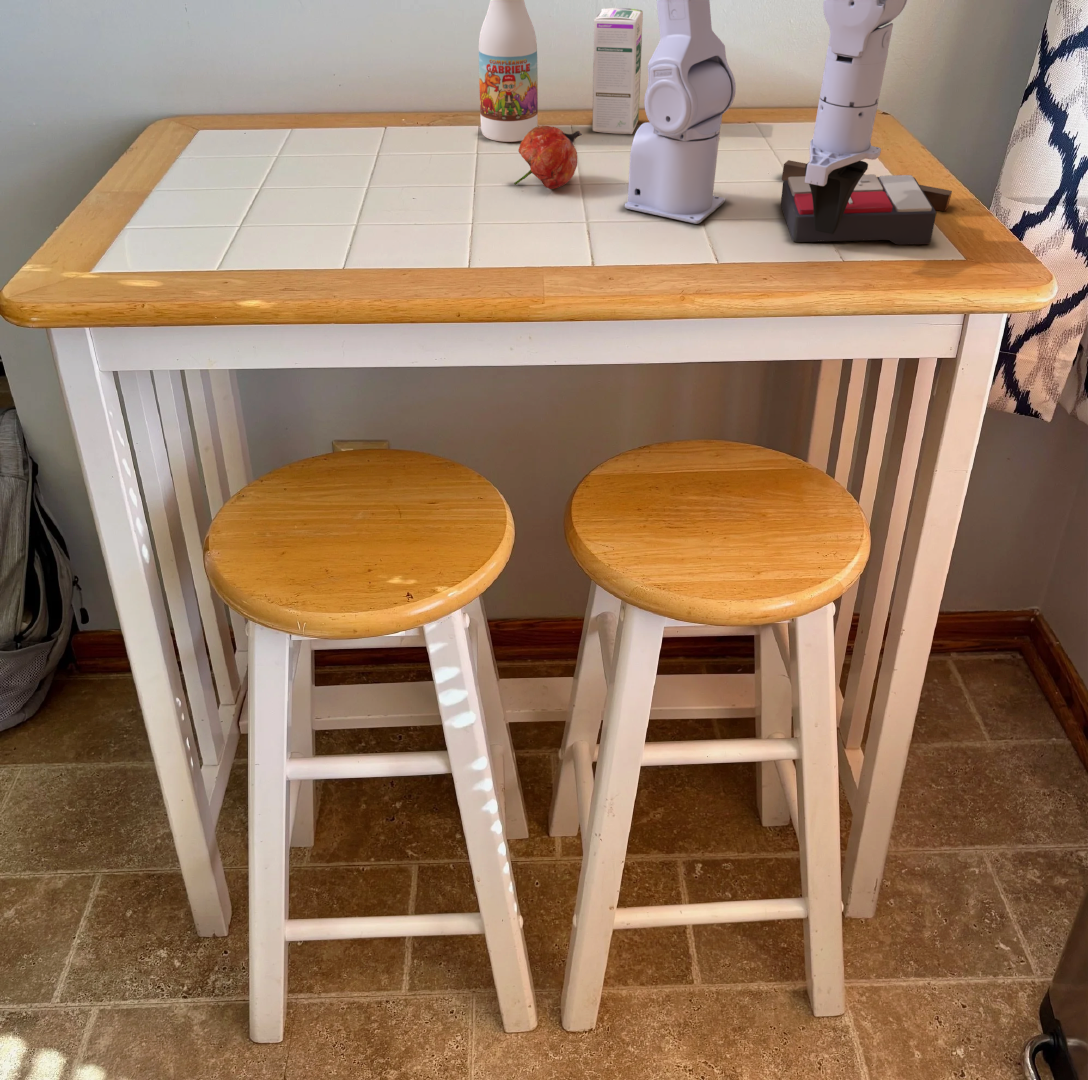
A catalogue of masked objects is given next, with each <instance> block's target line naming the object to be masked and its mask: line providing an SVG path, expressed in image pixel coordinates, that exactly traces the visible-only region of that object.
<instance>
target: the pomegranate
mask: <svg viewBox="0 0 1088 1080" xmlns="http://www.w3.org/2000/svg"><path fill="white" fill-rule="evenodd" d="M580 136H583V133H582V132H581V131H579V130H576V131H574V132H572V133H565V132H564V131H563V130H562V129H560V128H558V127H556V126H549V125H543V124H542V125H539V126H538V127H535V128H533V129H532V130H531V131H529V132H528V134H527V135H526V136H525V137H524V139H523V140H522V141H520V144H519V146H518V153H519V154H520V156H521V157H522V158H523V160H524V161H525V162H526V163H527V164H528V166H529V168H530V170H528V172H526V173H525V174H524V175H523V176H522V177H520V178H519V179H518V180H516V181H515V182H514V183H513V185H514V186H517V184H519V183H521V182H522V181H523V180H526V179H527V177H528V176H530V175H531V174H532V175H534V176H535V177H536V178H537V179H538V180H539V181H541V184H542V185H543V187H545V188H547V189H549V190H555V189H558V188H560V187H563V186H564V185H566V184H567V183H569V182H570V180H572V178H573V176H574V175H575V172H576V170H577V167H578V151H577V149H576V147H575V145H574V142H575V140H576V139H577V138H578V137H580Z"/></svg>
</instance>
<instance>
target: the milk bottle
mask: <svg viewBox="0 0 1088 1080" xmlns="http://www.w3.org/2000/svg"><path fill="white" fill-rule="evenodd" d="M486 11H487V12H486V14H485V16H484V20H483V22H482V25H481V27H480V32H479V39H478V79H479V80H478V81H479V82H478V83H479V109H480V111H479V113H480V116H479V117H480V131H481V134H482V136H483V137H485V138H487V139H489V140H491V141H496V142H504V143H505V142H506V143H510V142H511V143H512V142H522V141H523V139H524V137H525V136H526V135H527V134H528V132H529V131H531V130H532V129H533V128H535V127H538V125H539V123H538V121H539V114H538V113H539V112H538V111H539V110H538V109H539V107H538V106H539V99H538V98H539V95H538V93H539V92H538V91H539V90H538V87H539V86H538V85H539V81H538V78H539V76H538V42H537V36H536V31H535V28H534V24H533V22H532V19H531V17H530V15H529V12H528V10H527V6H526V3H525V0H489V3H488V8H487V10H486Z"/></svg>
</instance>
